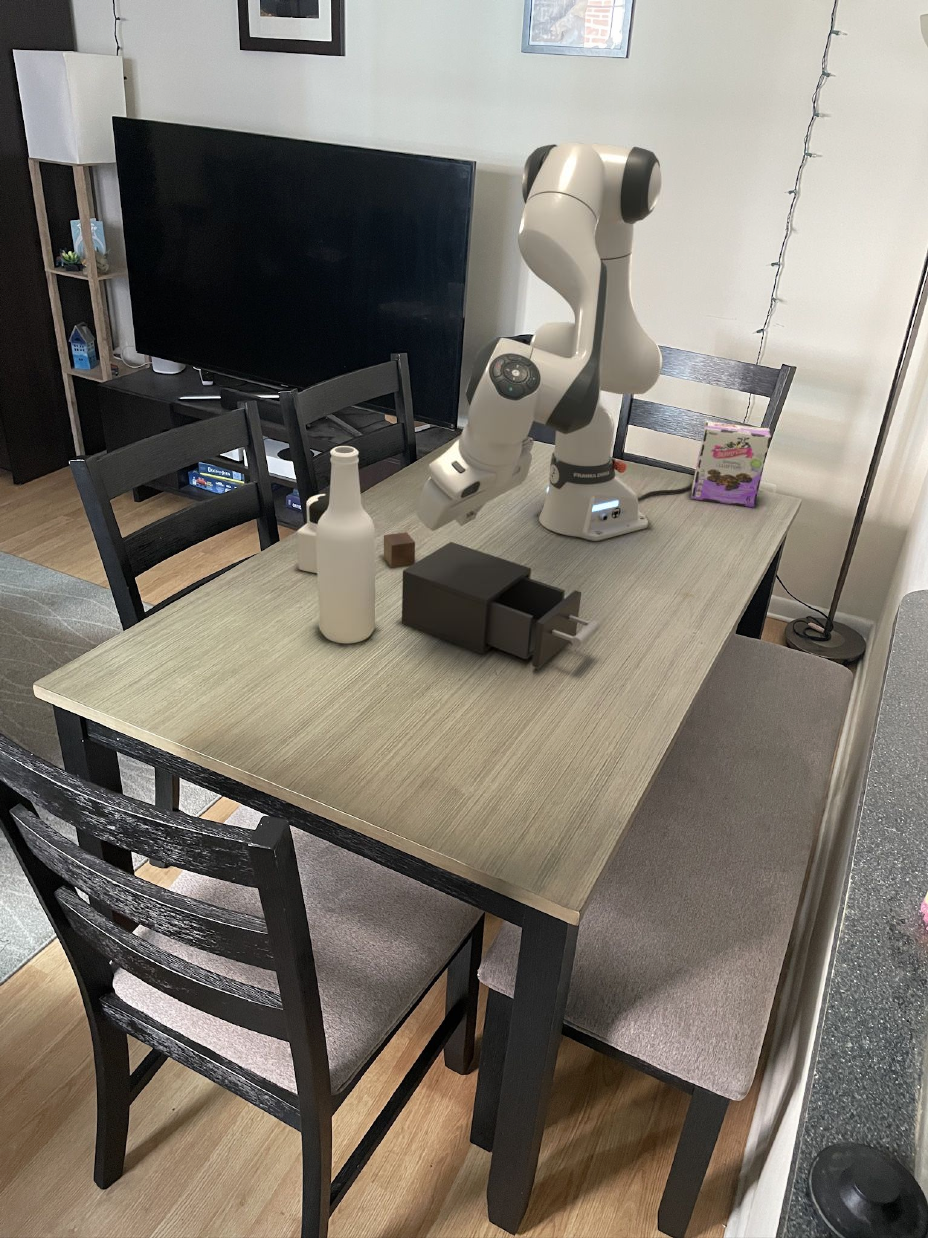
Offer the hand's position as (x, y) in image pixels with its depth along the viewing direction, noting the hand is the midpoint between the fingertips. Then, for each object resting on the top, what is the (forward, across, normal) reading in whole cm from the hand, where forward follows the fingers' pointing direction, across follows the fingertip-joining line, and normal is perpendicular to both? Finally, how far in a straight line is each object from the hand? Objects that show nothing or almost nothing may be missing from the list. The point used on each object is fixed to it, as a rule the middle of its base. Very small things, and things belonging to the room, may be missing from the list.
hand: (464, 519), depth 139 cm
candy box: (+29, -78, +11) cm, 83 cm away
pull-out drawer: (+9, +1, +20) cm, 22 cm away
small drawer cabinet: (+14, +4, +9) cm, 17 cm away
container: (+26, +10, -18) cm, 34 cm away
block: (+25, -2, -12) cm, 28 cm away
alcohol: (+16, +20, -1) cm, 26 cm away
